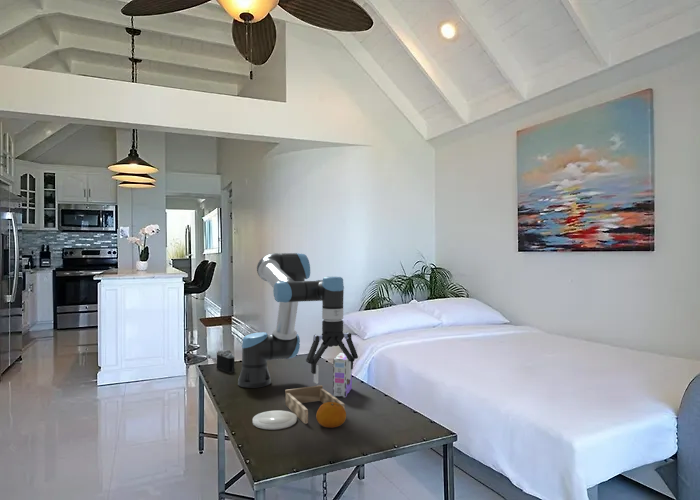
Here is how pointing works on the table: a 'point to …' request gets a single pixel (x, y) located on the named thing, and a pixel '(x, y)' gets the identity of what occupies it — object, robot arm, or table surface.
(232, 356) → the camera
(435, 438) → the table surface
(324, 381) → the table surface
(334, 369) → the candy box
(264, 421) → the plate
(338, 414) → the fruit
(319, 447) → the table surface
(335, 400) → the oak open frame
